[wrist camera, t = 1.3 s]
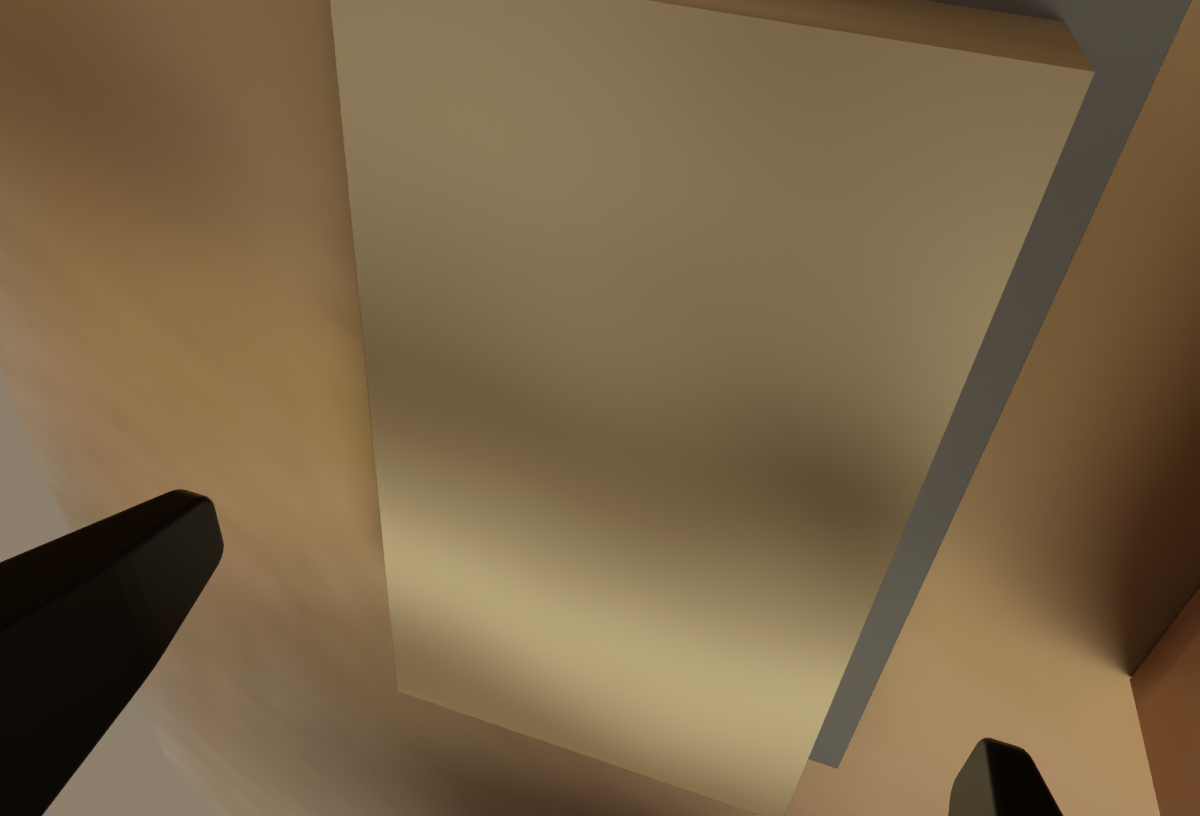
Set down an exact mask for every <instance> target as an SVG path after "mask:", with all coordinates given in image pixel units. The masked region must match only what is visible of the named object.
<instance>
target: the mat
mask: <svg viewBox="0 0 1200 816" xmlns="http://www.w3.org/2000/svg"><path fill="white" fill-rule="evenodd" d="M925 1H931V2H938V3H944V4H951V5H958V6H964V7H971V8H978V9H984V10H991V11H998V12H1004V13H1011V14H1018V15H1024V16H1031V17H1038V18H1044V19H1051V20H1058V21H1064V22H1065V23H1066V24H1067V26H1068V28H1069V29H1070V31H1071V33H1072V34H1073V36H1074V38H1075V39H1076V41H1077V43H1078V44H1079V46H1080V48H1081V49H1082V51H1083V53H1084V54H1085V56H1086V58H1087V59H1088V61H1089V63H1090V64H1091V66H1092V68H1093V70H1094V71H1095V73H1094V75H1093V78H1092V80H1091V83H1090V85H1089V87H1088V90H1087V92H1086V95H1085V97H1084V99H1083V102H1082V104H1081V107H1080V109H1079V111H1078V114H1077V116H1076V119H1075V121H1074V123H1073V126H1072V128H1071V131H1070V133H1069V135H1068V138H1067V140H1066V142H1065V145H1064V147H1063V150H1062V152H1061V154H1060V157H1059V159H1058V162H1057V164H1056V166H1055V169H1054V171H1053V174H1052V176H1051V178H1050V181H1049V183H1048V186H1047V188H1046V190H1045V193H1044V195H1043V198H1042V200H1041V202H1040V205H1039V207H1038V210H1037V212H1036V214H1035V217H1034V219H1033V221H1032V224H1031V226H1030V229H1029V231H1028V233H1027V236H1026V238H1025V241H1024V243H1023V245H1022V248H1021V250H1020V253H1019V255H1018V257H1017V260H1016V262H1015V265H1014V267H1013V269H1012V272H1011V274H1010V277H1009V279H1008V281H1007V284H1006V286H1005V289H1004V291H1003V293H1002V296H1001V298H1000V300H999V303H998V305H997V308H996V310H995V312H994V315H993V317H992V320H991V322H990V324H989V327H988V329H987V332H986V334H985V336H984V339H983V341H982V344H981V346H980V348H979V351H978V353H977V356H976V358H975V360H974V363H973V365H972V368H971V370H970V372H969V375H968V377H967V379H966V382H965V384H964V387H963V389H962V391H961V394H960V396H959V399H958V401H957V403H956V406H955V408H954V411H953V413H952V415H951V418H950V420H949V423H948V425H947V427H946V430H945V432H944V435H943V437H942V439H941V442H940V444H939V446H938V449H937V451H936V454H935V456H934V458H933V461H932V463H931V466H930V468H929V470H928V473H927V475H926V478H925V480H924V482H923V485H922V487H921V490H920V492H919V494H918V497H917V499H916V502H915V504H914V506H913V509H912V511H911V514H910V516H909V518H908V521H907V523H906V525H905V528H904V530H903V533H902V535H901V537H900V540H899V542H898V545H897V547H896V549H895V552H894V554H893V557H892V559H891V561H890V564H889V566H888V569H887V571H886V573H885V576H884V578H883V581H882V583H881V585H880V588H879V590H878V593H877V595H876V597H875V600H874V602H873V604H872V607H871V609H870V612H869V614H868V616H867V619H866V621H865V624H864V626H863V628H862V631H861V633H860V636H859V638H858V640H857V643H856V645H855V648H854V650H853V652H852V655H851V657H850V660H849V662H848V664H847V667H846V669H845V672H844V674H843V676H842V679H841V681H840V683H839V686H838V688H837V691H836V693H835V695H834V698H833V700H832V703H831V705H830V707H829V710H828V712H827V715H826V717H825V719H824V722H823V724H822V727H821V729H820V731H819V734H818V736H817V739H816V741H815V743H814V746H813V748H812V751H811V753H810V755H809V758H808V759H810V760H813V761H816V762H819V763H822V764H825V765H828V766H831V767H834V768H838V766H839V764H840V762H841V760H842V757H843V755H844V753H845V751H846V749H847V747H848V744H849V742H850V740H851V738H852V736H853V734H854V731H855V729H856V727H857V725H858V723H859V721H860V718H861V716H862V714H863V712H864V710H865V708H866V705H867V703H868V701H869V699H870V697H871V695H872V692H873V690H874V688H875V686H876V684H877V682H878V679H879V677H880V675H881V673H882V671H883V668H884V666H885V664H886V662H887V660H888V658H889V655H890V653H891V651H892V649H893V647H894V645H895V642H896V640H897V638H898V636H899V634H900V632H901V629H902V627H903V625H904V623H905V621H906V619H907V616H908V614H909V612H910V610H911V608H912V606H913V603H914V601H915V599H916V597H917V595H918V593H919V590H920V588H921V586H922V584H923V582H924V580H925V577H926V575H927V573H928V571H929V569H930V567H931V564H932V562H933V560H934V558H935V556H936V553H937V551H938V549H939V547H940V545H941V543H942V540H943V538H944V536H945V534H946V532H947V530H948V527H949V525H950V523H951V521H952V519H953V517H954V514H955V512H956V510H957V508H958V506H959V504H960V501H961V499H962V497H963V495H964V493H965V491H966V488H967V486H968V484H969V482H970V480H971V478H972V475H973V473H974V471H975V469H976V467H977V465H978V462H979V460H980V458H981V456H982V454H983V452H984V449H985V447H986V445H987V443H988V441H989V438H990V436H991V434H992V432H993V430H994V428H995V425H996V423H997V421H998V419H999V417H1000V415H1001V412H1002V410H1003V408H1004V406H1005V404H1006V402H1007V399H1008V397H1009V395H1010V393H1011V391H1012V389H1013V386H1014V384H1015V382H1016V380H1017V378H1018V376H1019V373H1020V371H1021V369H1022V367H1023V365H1024V363H1025V360H1026V358H1027V356H1028V354H1029V352H1030V350H1031V347H1032V345H1033V343H1034V341H1035V339H1036V337H1037V334H1038V332H1039V330H1040V328H1041V326H1042V323H1043V321H1044V319H1045V317H1046V315H1047V313H1048V310H1049V308H1050V306H1051V304H1052V302H1053V300H1054V297H1055V295H1056V293H1057V291H1058V289H1059V287H1060V284H1061V282H1062V280H1063V278H1064V276H1065V274H1066V271H1067V269H1068V267H1069V265H1070V263H1071V261H1072V258H1073V256H1074V254H1075V252H1076V250H1077V248H1078V245H1079V243H1080V241H1081V239H1082V237H1083V235H1084V232H1085V230H1086V228H1087V226H1088V224H1089V222H1090V219H1091V217H1092V215H1093V213H1094V211H1095V208H1096V206H1097V204H1098V202H1099V200H1100V198H1101V195H1102V193H1103V191H1104V189H1105V187H1106V185H1107V182H1108V180H1109V178H1110V176H1111V174H1112V172H1113V169H1114V167H1115V165H1116V163H1117V161H1118V159H1119V156H1120V154H1121V152H1122V150H1123V148H1124V146H1125V143H1126V141H1127V139H1128V137H1129V135H1130V133H1131V130H1132V128H1133V126H1134V124H1135V122H1136V120H1137V117H1138V115H1139V113H1140V111H1141V109H1142V107H1143V104H1144V102H1145V100H1146V98H1147V96H1148V93H1149V91H1150V89H1151V87H1152V85H1153V83H1154V80H1155V78H1156V76H1157V74H1158V72H1159V70H1160V67H1161V65H1162V63H1163V61H1164V59H1165V57H1166V54H1167V52H1168V50H1169V48H1170V46H1171V44H1172V41H1173V39H1174V37H1175V35H1176V33H1177V31H1178V28H1179V26H1180V24H1181V22H1182V20H1183V18H1184V15H1185V13H1186V11H1187V9H1188V7H1189V5H1190V2H1191V0H925Z"/></svg>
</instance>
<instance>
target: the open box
mask: <svg viewBox="0 0 1200 816" xmlns="http://www.w3.org/2000/svg"><path fill="white" fill-rule="evenodd" d="M1130 682H1131V687H1132V691H1133V696H1134V700H1135V704H1136V709H1137V713H1138V718H1139V722H1140V727H1141V731H1142V735H1143V740H1144V744H1145V749H1146V753H1147V758H1148V762H1149V767H1150V771H1151V775H1152V780H1153V784H1154V789H1155V793H1156V798H1157V802H1158V807H1159V811H1160V815H1161V816H1200V587H1199V588H1198V590H1197V591H1196V592H1195V594H1194V595H1193V596H1192V598H1191V599H1190V600H1189V602H1188V603H1187V604H1186V606H1185V607H1184V608H1183V610H1182V611H1181V612H1180V614H1179V615H1178V616H1177V618H1176V619H1175V620H1174V622H1173V623H1172V624H1171V626H1170V627H1169V628H1168V630H1167V631H1166V632H1165V634H1164V635H1163V636H1162V638H1161V639H1160V640H1159V642H1158V643H1157V644H1156V646H1155V647H1154V648H1153V650H1152V651H1151V652H1150V654H1149V655H1148V656H1147V658H1146V659H1145V660H1144V662H1143V663H1142V664H1141V666H1140V667H1139V668H1138V670H1137V671H1136V672H1135V674H1134V675H1133V676H1132V678H1131V679H1130Z"/></svg>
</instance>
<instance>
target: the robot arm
mask: <svg viewBox="0 0 1200 816" xmlns="http://www.w3.org/2000/svg"><path fill="white" fill-rule="evenodd" d="M223 548H224V543H223V538H222V534H221V530H220V527H219V523H218V519H217V515H216V511H215V507H214V504H213V502H212V501H211V500H210V499H209V498H208V497H206V496H203V495H200V494H197V493H194V492H190V491H187V490H182V489H178V490H173V491H170V492H167V493H165V494H163V495H160V496H158V497H155V498H153V499H151V500H148V501H146V502H143V503H141V504H139V505H136V506H134V507H132V508H129V509H127V510H124V511H122V512H120V513H117V514H115V515H112V516H110V517H108V518H105V519H103V520H100V521H98V522H96V523H93V524H91V525H89V526H86V527H84V528H81V529H79V530H77V531H74V532H72V533H69V534H67V535H65V536H62V537H60V538H58V539H55V540H53V541H51V542H48V543H46V544H43V545H41V546H38V547H36V548H34V549H31V550H29V551H26V552H24V553H22V554H19V555H17V556H15V557H12V558H10V559H7V560H5V561H3V562H1V563H0V816H42V815H43V814H44V813H45V811H46V810H47V809H48V807H49V806H50V805H51V803H52V802H53V801H54V799H55V798H56V797H57V796H58V794H59V793H60V792H61V790H62V789H63V788H64V786H65V785H66V784H67V782H68V781H69V780H70V778H71V777H72V776H73V774H74V773H75V772H76V771H77V769H78V768H79V767H80V765H81V764H82V763H83V761H84V760H85V759H86V757H87V756H88V755H89V754H90V752H91V751H92V750H93V748H94V747H95V746H96V744H97V742H99V740H100V739H101V738H102V736H103V735H104V734H105V732H106V731H107V730H108V729H109V727H110V726H111V725H112V723H113V722H114V721H115V719H116V718H117V717H118V715H119V714H120V713H121V712H122V710H123V709H124V708H125V706H126V705H127V704H128V702H129V701H130V700H131V698H132V697H133V696H134V694H135V693H136V692H137V691H138V689H139V688H140V687H141V685H142V684H143V682H144V681H145V680H146V678H147V677H148V676H149V674H150V673H151V671H152V670H153V669H154V667H155V666H156V664H157V663H158V661H159V660H160V658H161V657H162V655H163V654H164V652H165V650H166V649H167V647H168V645H169V644H170V642H171V641H172V639H173V637H174V636H175V634H176V633H177V631H178V629H179V628H180V626H181V624H182V623H183V621H184V620H185V618H186V616H187V615H188V613H189V611H190V610H191V608H192V607H193V605H194V603H195V602H196V600H197V598H198V597H199V595H200V594H201V592H202V590H203V589H204V587H205V585H206V584H207V582H208V581H209V579H210V577H211V576H212V574H213V572H214V571H215V569H216V568H217V566H218V564H219V562H220V560H221V557H222V554H223ZM948 816H1063V814H1062V813H1061V811H1060V809H1059V807H1058V805H1057V804H1056V802H1055V800H1054V798H1053V796H1052V794H1051V793H1050V791H1049V789H1048V787H1047V785H1046V783H1045V782H1044V780H1043V778H1042V776H1041V774H1040V772H1039V771H1038V769H1037V767H1036V765H1035V763H1034V762H1033V760H1032V758H1031V756H1030V755H1029V754H1028V753H1027V752H1026V751H1025V750H1024V749H1022V748H1020V747H1018V746H1015V745H1011V744H1008V743H1005V742H1002V741H998V740H995V739H992V738H983V739H982V740H980V741H979V742H978V743H977V745H976V746H975V748H974V750H973V751H972V753H971V755H970V756H969V758H968V759H967V761H966V763H965V764H964V766H963V768H962V769H961V771H960V772H959V774H958V776H957V777H956V779H955V782H954V784H953V787H952V791H951V796H950V803H949V814H948Z"/></svg>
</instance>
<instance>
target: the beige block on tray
mask: <svg viewBox="0 0 1200 816" xmlns="http://www.w3.org/2000/svg"><path fill="white" fill-rule="evenodd" d="M330 6H331V16H332V27H333V37H334V47H335V58H336V68H337V78H338V88H339V99H340V109H341V119H342V129H343V140H344V150H345V160H346V170H347V181H348V191H349V201H350V211H351V222H352V232H353V242H354V252H355V263H356V273H357V283H358V294H359V304H360V314H361V324H362V335H363V345H364V355H365V365H366V376H367V386H368V396H369V406H370V417H371V427H372V437H373V447H374V458H375V468H376V478H377V488H378V499H379V509H380V519H381V529H382V540H383V550H384V560H385V571H386V581H387V591H388V601H389V612H390V622H391V632H392V642H393V653H394V663H395V673H396V683H397V691H398V692H401V693H404V694H407V695H409V696H412V697H415V698H418V699H421V700H424V701H427V702H430V703H433V704H436V705H439V706H442V707H445V708H448V709H450V710H453V711H456V712H459V713H462V714H465V715H468V716H471V717H474V718H477V719H480V720H483V721H486V722H488V723H491V724H494V725H497V726H500V727H503V728H506V729H509V730H512V731H515V732H518V733H521V734H524V735H526V736H529V737H532V738H535V739H538V740H541V741H544V742H547V743H550V744H553V745H556V746H559V747H562V748H565V749H567V750H570V751H573V752H576V753H579V754H582V755H585V756H588V757H591V758H594V759H597V760H600V761H603V762H605V763H608V764H611V765H614V766H617V767H620V768H623V769H626V770H629V771H632V772H635V773H638V774H641V775H644V776H646V777H649V778H652V779H655V780H658V781H661V782H664V783H667V784H670V785H673V786H676V787H679V788H682V789H684V790H687V791H690V792H693V793H696V794H699V795H702V796H705V797H708V798H711V799H714V800H717V801H720V802H723V803H725V804H728V805H731V806H734V807H737V808H740V809H743V810H746V811H749V812H752V813H755V814H758V815H761V816H784V815H785V813H786V810H787V808H788V806H789V803H790V801H791V798H792V796H793V794H794V791H795V789H796V786H797V784H798V782H799V779H800V777H801V774H802V772H803V770H804V767H805V765H806V762H807V760H808V758H809V755H810V753H811V751H812V748H813V746H814V743H815V741H816V739H817V736H818V734H819V731H820V729H821V727H822V724H823V722H824V719H825V717H826V715H827V712H828V710H829V707H830V705H831V703H832V700H833V698H834V695H835V693H836V691H837V688H838V686H839V683H840V681H841V679H842V676H843V674H844V672H845V669H846V667H847V664H848V662H849V660H850V657H851V655H852V652H853V650H854V648H855V645H856V643H857V640H858V638H859V636H860V633H861V631H862V628H863V626H864V624H865V621H866V619H867V616H868V614H869V612H870V609H871V607H872V604H873V602H874V600H875V597H876V595H877V593H878V590H879V588H880V585H881V583H882V581H883V578H884V576H885V573H886V571H887V569H888V566H889V564H890V561H891V559H892V557H893V554H894V552H895V549H896V547H897V545H898V542H899V540H900V537H901V535H902V533H903V530H904V528H905V525H906V523H907V521H908V518H909V516H910V514H911V511H912V509H913V506H914V504H915V502H916V499H917V497H918V494H919V492H920V490H921V487H922V485H923V482H924V480H925V478H926V475H927V473H928V470H929V468H930V466H931V463H932V461H933V458H934V456H935V454H936V451H937V449H938V446H939V444H940V442H941V439H942V437H943V435H944V432H945V430H946V427H947V425H948V423H949V420H950V418H951V415H952V413H953V411H954V408H955V406H956V403H957V401H958V399H959V396H960V394H961V391H962V389H963V387H964V384H965V382H966V379H967V377H968V375H969V372H970V370H971V368H972V365H973V363H974V360H975V358H976V356H977V353H978V351H979V348H980V346H981V344H982V341H983V339H984V336H985V334H986V332H987V329H988V327H989V324H990V322H991V320H992V317H993V315H994V312H995V310H996V308H997V305H998V303H999V300H1000V298H1001V296H1002V293H1003V291H1004V289H1005V286H1006V284H1007V281H1008V279H1009V277H1010V274H1011V272H1012V269H1013V267H1014V265H1015V262H1016V260H1017V257H1018V255H1019V253H1020V250H1021V248H1022V245H1023V243H1024V241H1025V238H1026V236H1027V233H1028V231H1029V229H1030V226H1031V224H1032V221H1033V219H1034V217H1035V214H1036V212H1037V210H1038V207H1039V205H1040V202H1041V200H1042V198H1043V195H1044V193H1045V190H1046V188H1047V186H1048V183H1049V181H1050V178H1051V176H1052V174H1053V171H1054V169H1055V166H1056V164H1057V162H1058V159H1059V157H1060V154H1061V152H1062V150H1063V147H1064V145H1065V142H1066V140H1067V138H1068V135H1069V133H1070V131H1071V128H1072V126H1073V123H1074V121H1075V119H1076V116H1077V114H1078V111H1079V109H1080V107H1081V104H1082V102H1083V99H1084V97H1085V95H1086V92H1087V90H1088V87H1089V85H1090V83H1091V80H1092V78H1093V75H1094V73H1095V71H1094V70H1093V68H1092V66H1091V64H1090V63H1089V61H1088V59H1087V58H1086V56H1085V54H1084V53H1083V51H1082V49H1081V48H1080V46H1079V44H1078V43H1077V41H1076V39H1075V38H1074V36H1073V34H1072V33H1071V31H1070V29H1069V28H1068V26H1067V24H1066V23H1065V22H1064V21H1058V20H1051V19H1044V18H1038V17H1031V16H1024V15H1018V14H1011V13H1004V12H998V11H991V10H984V9H978V8H971V7H964V6H958V5H951V4H944V3H938V2H931V1H925V0H330Z"/></svg>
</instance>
